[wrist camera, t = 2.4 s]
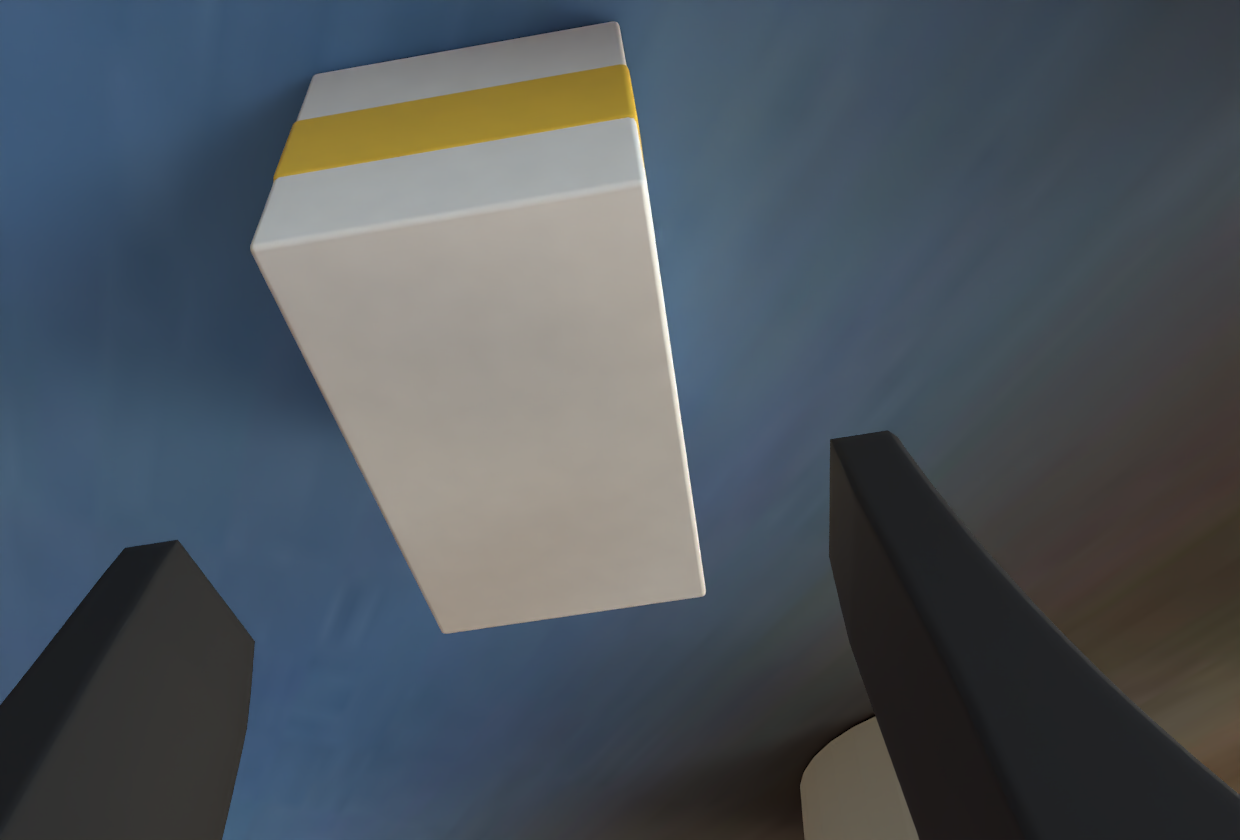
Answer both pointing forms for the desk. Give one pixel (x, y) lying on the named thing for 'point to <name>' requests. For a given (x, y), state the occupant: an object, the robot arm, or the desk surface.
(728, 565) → the desk surface
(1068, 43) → the desk surface
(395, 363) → the tea packet
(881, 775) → the reusable coffee cup
